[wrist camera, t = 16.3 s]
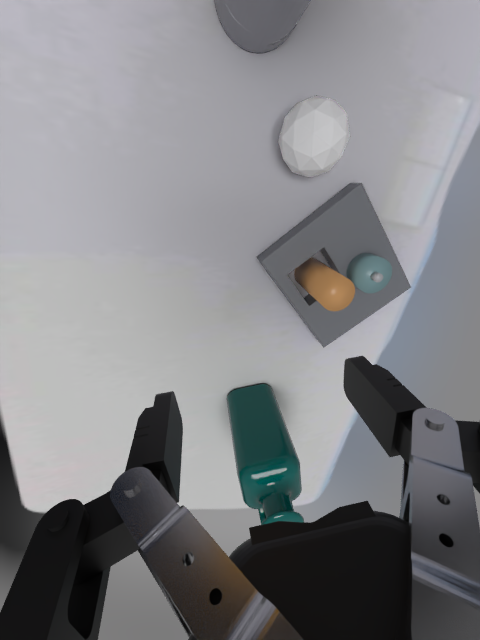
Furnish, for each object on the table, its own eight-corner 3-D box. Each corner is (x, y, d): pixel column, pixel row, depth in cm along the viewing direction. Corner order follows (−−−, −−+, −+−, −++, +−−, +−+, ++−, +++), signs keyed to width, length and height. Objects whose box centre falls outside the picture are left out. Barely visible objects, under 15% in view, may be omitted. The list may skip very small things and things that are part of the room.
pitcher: (224, 390, 50) (243, 520, 31) (270, 380, 51) (318, 502, 31) (233, 429, 55) (254, 565, 35) (275, 419, 55) (319, 549, 36)
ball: (309, 137, 38) (369, 128, 33) (286, 191, 38) (342, 190, 33) (282, 85, 32) (350, 65, 27) (255, 149, 32) (318, 140, 27)
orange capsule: (289, 270, 43) (313, 292, 34) (313, 251, 42) (345, 269, 33) (303, 291, 44) (330, 318, 36) (327, 274, 44) (361, 296, 35)
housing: (256, 257, 41) (267, 269, 35) (350, 183, 39) (380, 182, 32) (316, 338, 49) (334, 361, 42) (398, 281, 46) (430, 296, 40)
